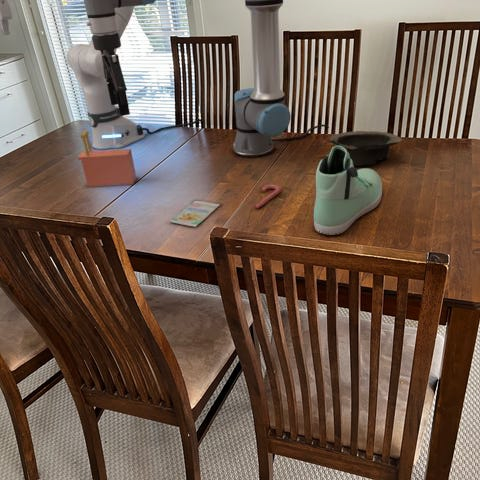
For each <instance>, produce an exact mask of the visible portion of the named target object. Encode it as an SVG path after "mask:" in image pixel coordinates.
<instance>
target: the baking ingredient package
mask: <svg viewBox="0 0 480 480" xmlns="http://www.w3.org/2000/svg"><path fill="white" fill-rule="evenodd" d="M219 206H221V204H220V203H215V202H210V201H209V202H208V201H202V200H196V199H195V200H194V201H193V202H192V203H190V204H189V205H188V206H186V208H184V209H183V210H182V211H180V212H179V213H178V214H177V215H175V216H174V217H173V218H172V219H171V220H169V223H173V224H174V223H175V224H178V225H183V226H188V227H194V228H196V227H197V226H198V225H199V224H200V223H202V222H203V221H204V220H205V219H206V218H207V217H208V216H210V215H211V214H212V213H213V212H214V211H215V210H216V209H218V207H219Z"/></svg>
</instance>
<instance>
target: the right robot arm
mask: <svg viewBox="0 0 480 480" xmlns="http://www.w3.org/2000/svg"><path fill="white" fill-rule="evenodd" d="M156 1H157V0H83V4H84V7H85V12H86V16H87V20H88V21H87V22H86V26H87V27H89V29H90V33H91V34H92V35H93V34H94V35H93V36H91V39H92V40H93V45H94V49H95V50H99V51H100V52H101V55H102V61H103V69H104V76H105V77H104V78H105V80H106V82H107V86H108V91H109V96H110V101H111V105H115V106H116V105H117V106H118V107H117V108H119V111H120V116H123V117H125V116H129V115H131V112H130V106H129V101H128V96H127V91H128V88H127V86H126V82H125V81H126V80H125V78H124V75H123V69H122V66H121V63H120V59H119V58H120V56H119V54H117V53H116V54H115V52H114V49H120V48H121V47H122V41H121V38H120V36H119V34H118V33H117V31H118V24H117V19H116V15H115V8H120V7H128V6H134V7H138V6H147V5H152V4H154V3H156ZM244 2H245V3H244V6H245V8H246V9H248V11H249V12H250V29H251V48H252V49H251V50H252V69H253V70H252V71H253V87H250V88H243V89H240V90H237V91H235V93H234V101H233V102H234V112H235V122H236V124H235V125H236V134H235V138H234V141H233V144H232V146H233V153H234V154H235V155H237V156H239V157H243V158H258V157H263V156H266V155H269V154H271V153H272V152H273V151H274V142H282V141H289V140H298V139H302V138H305V137H307V136H308V135H309V133H310V132H311V131H313V130H315V129H318V128H321V127H322V128H323V127H324V128H326V129H329V128H330V126H328V125H327V124H323V123H322V124H318V125H315V126H313V127H310V128H308V129H307V131H306V132H305V133H304V134H302V135H298V136H291V137H282V138H274V139H272V138H273V137H277V136H280V135H281V134H283V133H284V132H285V131H286V129H288V127H289V125H290V123H291V118H292V117H291V116H292V115H291V111H290V109H289V108H288V106H286V103H285V102H286V99H285V97H286V96H285V92H284V91H283V90H282V89H281V81H280V78H281V76H280V30H279V29H280V25H279V24H280V21H279V20H280V19H279V10H280V9H281V7H282V6H283V5H284V0H244Z"/></svg>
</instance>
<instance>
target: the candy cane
mask: <svg viewBox="0 0 480 480" xmlns="http://www.w3.org/2000/svg"><path fill="white" fill-rule="evenodd" d="M268 190H274V191H272V192H271V193H270V194H268V195H267V196H265V197H264V198H262V199H261V200H260V201H259V202H257V203H256V204H255V205H254V208H255V209H260V208H261V207H262V206H264V205H266V204H267V203H268V202H269V201H270V200H272V199H273V198H274V197H276V196H277V195H279V194H280V193H281V191H282V189H281V187H280V186H279V185H277V184H267V185H264V186H262V188H261V192H263V193H265V192H266V191H268Z"/></svg>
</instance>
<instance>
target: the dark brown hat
mask: <svg viewBox="0 0 480 480" xmlns="http://www.w3.org/2000/svg"><path fill="white" fill-rule="evenodd" d="M402 141H403V138H401V137H400V136H398V135H396V134H394V133H389V132H386V131H385V132H384V131H377V130H376V131H374V130H356V131H355V130H354V131H345V132H341V133H337V134H332V135H331V136H329V140H328V143H331V144H333V145H334V146H342V147H344V148H345V149H346V150H347V152H348V153H349V156H350V159H352V161H353V166H355V167H364V166H373V165H375V164H376V163H377V161H386V160H387V159H388V158H389V155H390V148H391V147H392V146H395V145H398V144H399V143H401V142H402Z"/></svg>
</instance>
